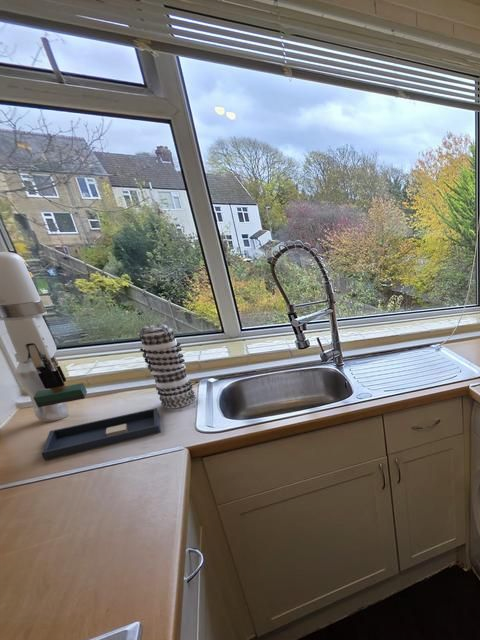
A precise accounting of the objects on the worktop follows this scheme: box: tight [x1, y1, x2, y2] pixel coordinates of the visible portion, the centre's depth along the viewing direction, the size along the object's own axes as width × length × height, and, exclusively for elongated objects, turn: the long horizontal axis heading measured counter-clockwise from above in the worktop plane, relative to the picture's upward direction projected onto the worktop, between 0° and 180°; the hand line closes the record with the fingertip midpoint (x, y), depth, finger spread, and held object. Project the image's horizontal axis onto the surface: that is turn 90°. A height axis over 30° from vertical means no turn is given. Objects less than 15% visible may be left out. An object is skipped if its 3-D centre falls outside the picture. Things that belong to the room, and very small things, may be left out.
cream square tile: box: [106, 424, 128, 437], centre depth 109 cm, size 4×4×1 cm
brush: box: [34, 362, 88, 407], centre depth 98 cm, size 8×5×10 cm, turn 130°
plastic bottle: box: [14, 353, 70, 423], centre depth 112 cm, size 6×7×20 cm
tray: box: [40, 407, 161, 461], centre depth 108 cm, size 22×14×3 cm, turn 130°
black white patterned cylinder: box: [136, 324, 197, 409], centre depth 121 cm, size 9×9×25 cm
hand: (56, 384), depth 98 cm, fingers closed on brush, 2 cm apart
